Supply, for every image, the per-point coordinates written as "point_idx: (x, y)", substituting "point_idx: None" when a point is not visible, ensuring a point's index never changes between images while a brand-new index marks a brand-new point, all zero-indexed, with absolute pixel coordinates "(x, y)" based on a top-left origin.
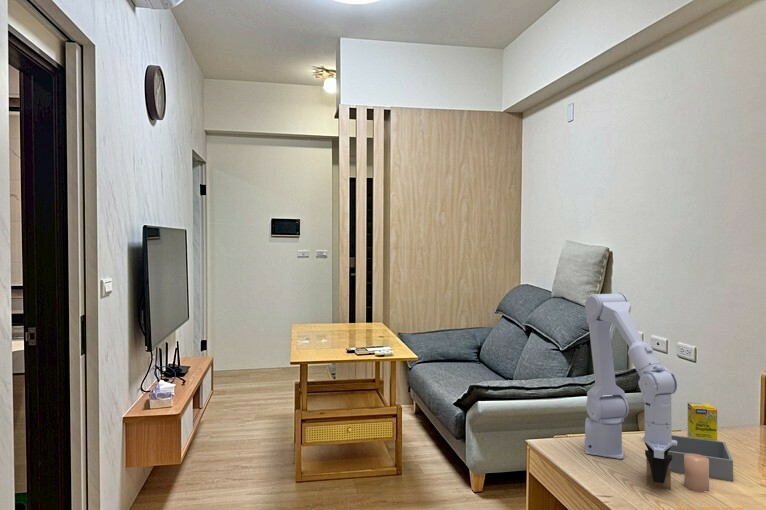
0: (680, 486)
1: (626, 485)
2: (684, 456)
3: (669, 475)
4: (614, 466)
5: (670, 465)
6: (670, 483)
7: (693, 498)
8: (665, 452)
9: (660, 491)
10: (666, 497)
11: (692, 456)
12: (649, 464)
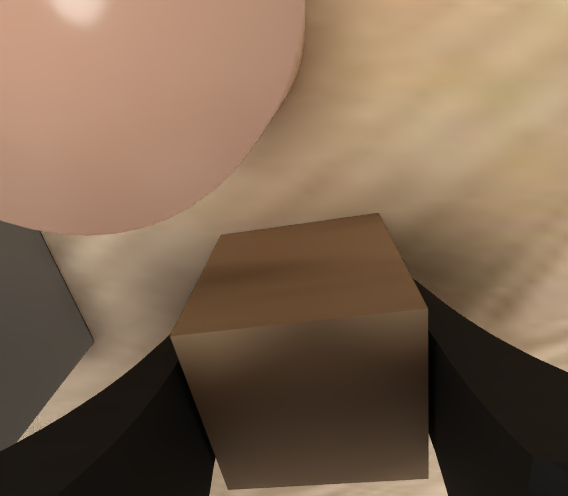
0: (275, 158)
1: None
2: (143, 224)
3: (402, 273)
4: (213, 480)
5: (15, 270)
6: (387, 234)
7: (473, 35)
8: (141, 445)
9: (442, 267)
10: (533, 224)
11: (11, 71)
12: (408, 463)
